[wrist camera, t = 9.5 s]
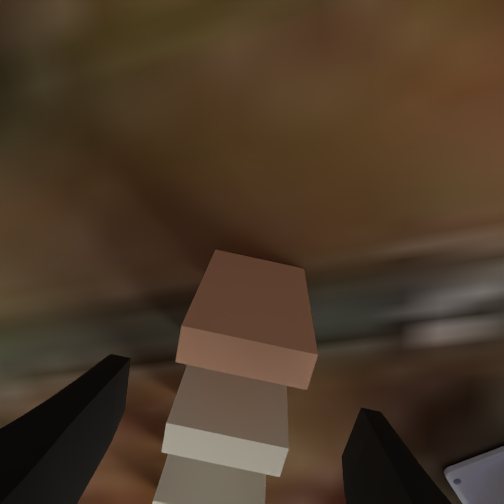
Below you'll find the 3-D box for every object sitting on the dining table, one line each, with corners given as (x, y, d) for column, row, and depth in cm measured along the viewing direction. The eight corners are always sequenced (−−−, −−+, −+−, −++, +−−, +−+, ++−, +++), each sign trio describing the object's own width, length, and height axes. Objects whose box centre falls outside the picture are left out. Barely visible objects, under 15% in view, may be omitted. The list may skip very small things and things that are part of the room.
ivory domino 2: (263, 416, 25) (256, 547, 18) (187, 400, 25) (149, 524, 17) (268, 397, 24) (264, 523, 17) (191, 380, 24) (153, 500, 17)
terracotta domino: (296, 293, 22) (307, 390, 14) (210, 275, 22) (175, 361, 14) (303, 268, 21) (318, 355, 14) (215, 249, 21) (181, 325, 14)
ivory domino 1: (278, 359, 23) (279, 477, 16) (198, 342, 23) (161, 452, 16) (285, 337, 23) (288, 448, 15) (202, 320, 23) (166, 422, 15)
